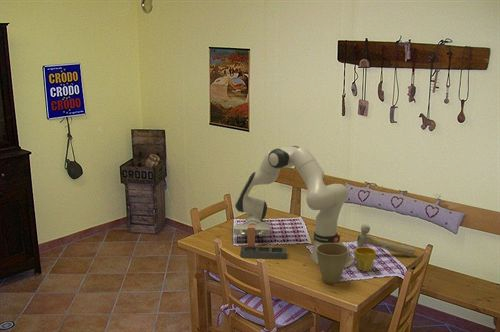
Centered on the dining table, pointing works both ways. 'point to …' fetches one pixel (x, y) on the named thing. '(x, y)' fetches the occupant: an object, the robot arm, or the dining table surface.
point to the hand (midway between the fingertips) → (251, 235)
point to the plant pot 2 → (365, 258)
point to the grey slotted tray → (263, 252)
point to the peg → (251, 235)
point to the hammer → (382, 243)
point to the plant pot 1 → (331, 261)
